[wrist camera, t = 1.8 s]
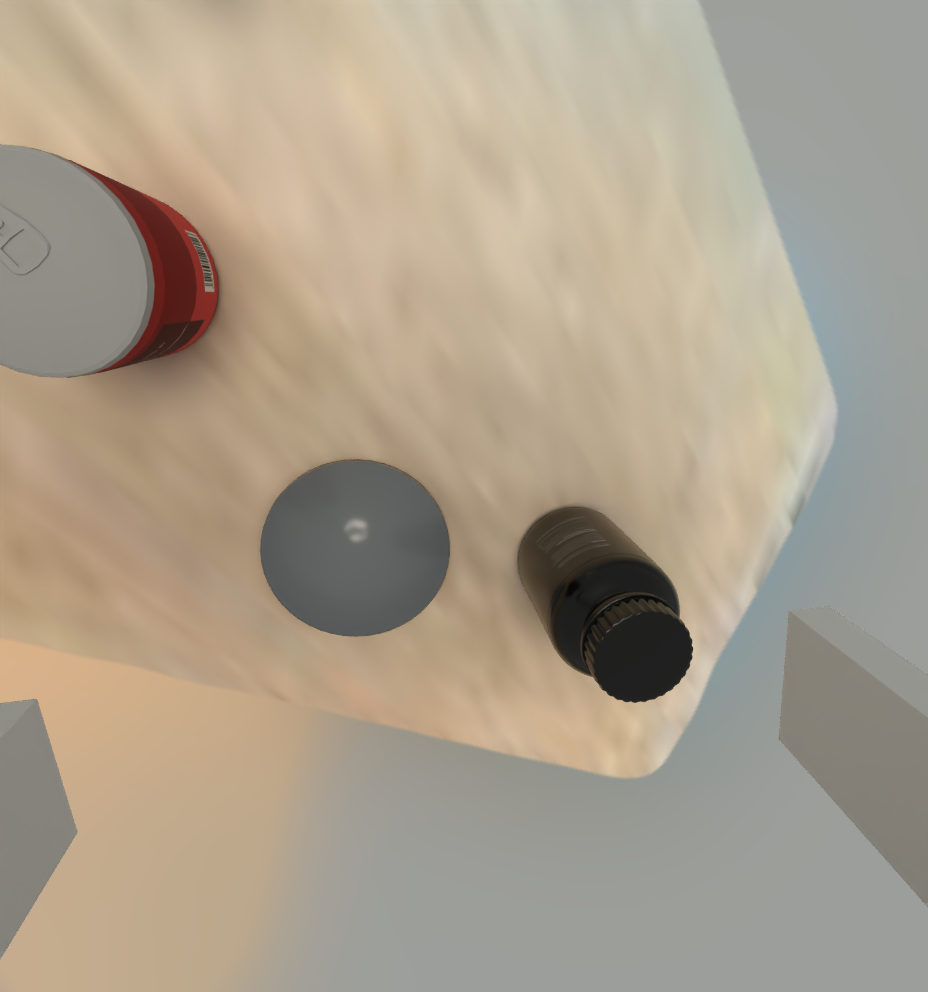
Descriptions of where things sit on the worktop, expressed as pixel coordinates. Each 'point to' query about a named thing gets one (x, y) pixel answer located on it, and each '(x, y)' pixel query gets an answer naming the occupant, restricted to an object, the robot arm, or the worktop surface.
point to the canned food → (93, 270)
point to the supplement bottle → (605, 604)
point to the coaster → (355, 548)
